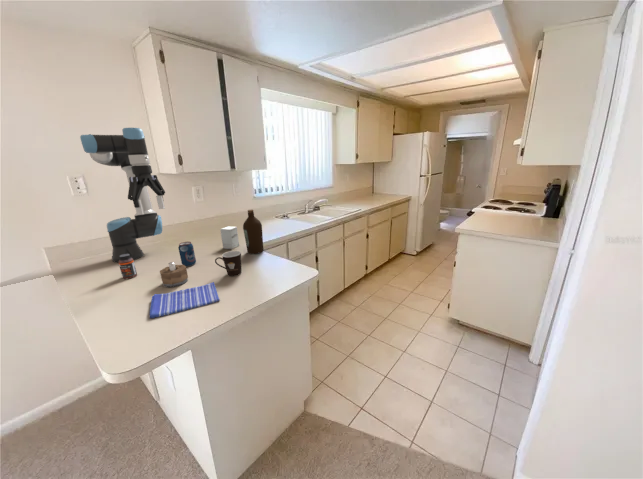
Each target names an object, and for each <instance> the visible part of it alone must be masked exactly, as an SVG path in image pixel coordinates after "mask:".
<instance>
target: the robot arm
mask: <svg viewBox="0 0 643 479" xmlns="http://www.w3.org/2000/svg"><path fill="white" fill-rule="evenodd" d="M79 139H80V142H81V145H82V148H83V151H84V153H86V154H89V156H90V157H91V159H92V160H93V161H94V162H96V163H98V164H100V165H104V166H109V167H120V168H121V171H124V172H125V174H126V178H127V182H128V193H127V200H130V201H132V202H133V206H134V209H135V214H134V218H131V217H129V216H126V217H119V218H116V219H113V220H110V221H108V222H107V223H106V230H107V231H106V232H107V233H108V236H109V240H110V243H111V246H112V256H111V260H112V262H114V263H118V262H119V260H120V257H119V256H120V255H123V254H129V255H130V257H131V258H133V260H134V261H135V260H138V259H139V258H140V259H141V257H143V256H144V251H143V250H142V249H141V246H140V245H139V244H138V243H137V239H143V238H148V237H154V236H158V235H161V234H162V233H163V221H162V220H163V219H162V216H161V215H159V214H158V212H157V211H155V210H154V208H153V204H152V201H151V195H150V193H149V189H148V187H149V188H150V189H151V190H152V192H154V193H155V194H156V196H155V198H156V202H157V206H158V209H159V210H164V209H166V208H165V203H164V197H163V196H165V194H166V191H165V189H164V188H163V186H162V184H161V182H160V181H159V179H158V175H156V174H153V169H152V165H151V161H150V158H149V153H148V147H147V143H146V138H145V134H144V130H143V129H142V128H140V127H123V128H122V134H91V133H90V134H81V135H80V136H79Z"/></svg>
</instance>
